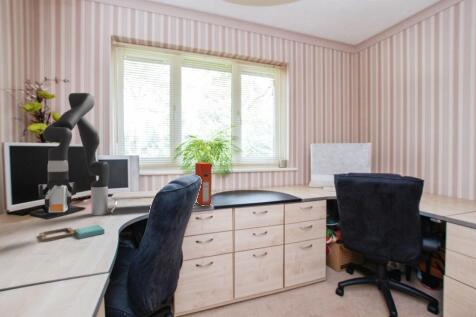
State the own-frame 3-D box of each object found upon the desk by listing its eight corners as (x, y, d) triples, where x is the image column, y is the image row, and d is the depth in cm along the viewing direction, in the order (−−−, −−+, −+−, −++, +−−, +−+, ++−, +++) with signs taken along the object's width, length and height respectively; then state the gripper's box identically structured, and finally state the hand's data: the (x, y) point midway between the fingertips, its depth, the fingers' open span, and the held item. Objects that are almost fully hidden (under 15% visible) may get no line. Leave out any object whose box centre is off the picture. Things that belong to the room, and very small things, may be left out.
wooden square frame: (39, 235, 107) (39, 232, 107) (70, 229, 116) (70, 227, 116) (43, 242, 99) (43, 239, 99) (76, 235, 108) (76, 232, 108)
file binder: (200, 206, 173) (201, 163, 172) (194, 201, 188) (195, 162, 188) (211, 205, 176) (211, 163, 176) (204, 201, 192) (204, 162, 192)
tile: (74, 233, 111) (74, 228, 111) (97, 228, 118) (97, 224, 118) (79, 238, 104) (79, 233, 104) (104, 233, 111) (104, 228, 111)
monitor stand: (109, 214, 146) (109, 197, 146) (114, 205, 172) (115, 191, 172) (170, 210, 160) (170, 194, 160) (166, 202, 186) (166, 189, 186)
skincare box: (48, 212, 105) (48, 186, 105) (53, 210, 109) (52, 185, 109) (64, 212, 106) (63, 186, 106) (68, 209, 111) (68, 185, 110)
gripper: (74, 169, 115) (74, 202, 115) (36, 170, 104) (36, 206, 105) (78, 170, 110) (78, 204, 110) (39, 171, 99) (39, 209, 100)
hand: (58, 205), depth 108 cm, fingers closed on skincare box, 7 cm apart
